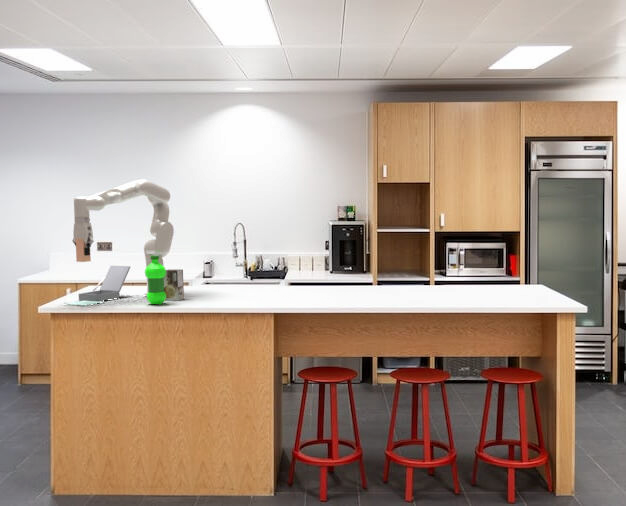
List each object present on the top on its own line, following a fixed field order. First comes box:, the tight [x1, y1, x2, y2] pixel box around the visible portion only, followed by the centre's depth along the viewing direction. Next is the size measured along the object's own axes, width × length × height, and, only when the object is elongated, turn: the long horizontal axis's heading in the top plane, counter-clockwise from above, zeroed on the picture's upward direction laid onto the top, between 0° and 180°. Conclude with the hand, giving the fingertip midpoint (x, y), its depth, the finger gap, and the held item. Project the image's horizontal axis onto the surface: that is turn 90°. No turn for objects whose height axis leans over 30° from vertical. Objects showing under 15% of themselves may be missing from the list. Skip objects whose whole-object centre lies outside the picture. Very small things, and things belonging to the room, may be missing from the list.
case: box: [78, 265, 131, 301], centre depth 395 cm, size 16×25×17 cm, turn 150°
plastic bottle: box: [144, 256, 167, 305], centre depth 371 cm, size 10×10×25 cm
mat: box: [66, 300, 103, 307], centre depth 378 cm, size 14×14×1 cm
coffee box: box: [164, 268, 185, 301], centre depth 386 cm, size 9×6×16 cm
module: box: [75, 239, 92, 263], centre depth 376 cm, size 5×5×13 cm
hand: (83, 254), depth 377 cm, fingers closed on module, 5 cm apart
